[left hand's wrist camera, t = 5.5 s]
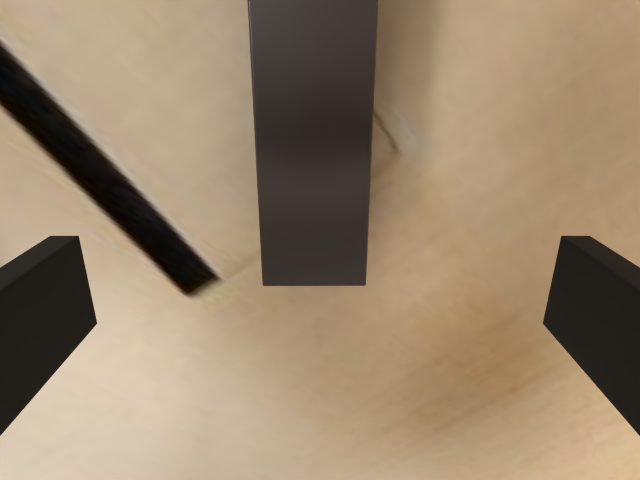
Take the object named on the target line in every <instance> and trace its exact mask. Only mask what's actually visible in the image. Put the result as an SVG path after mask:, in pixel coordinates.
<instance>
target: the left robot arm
mask: <svg viewBox="0 0 640 480" xmlns="http://www.w3.org/2000/svg"><path fill="white" fill-rule="evenodd" d="M96 324H97V321H96V316H95V311H94V307H93V302H92V297H91V292H90V288H89V283H88V278H87V273H86V269H85V264H84V259H83V255H82V250H81V245H80V240H79V236H50V237H48V238H46V239H45V240H43V241H42V242H40V243H38V244H37V245H35V246H34V247H32V248H31V249H29V250H27V251H26V252H24V253H23V254H21V255H20V256H18V257H16V258H15V259H13V260H12V261H10V262H9V263H7V264H5V265H4V266H2V267H1V268H0V435H1V434H2V433H3V432H4V431H5V430H6V429H7V427H8V426H9V425H10V424H11V423H12V422H13V420H14V419H15V418H16V417H17V416H18V415H19V413H20V412H21V411H22V410H23V409H24V408H25V406H26V405H27V404H28V403H29V402H30V401H31V400H32V398H33V397H34V396H35V395H36V394H37V393H38V391H39V390H40V389H41V388H42V387H43V386H44V384H45V383H46V382H47V381H48V380H49V379H50V377H51V376H52V375H53V374H54V373H55V372H56V371H57V369H58V368H59V367H60V366H61V365H62V364H63V362H64V361H65V360H66V359H67V358H68V357H69V355H70V354H71V353H72V352H73V351H74V350H75V348H76V347H77V346H78V345H79V344H80V343H81V342H82V340H83V339H84V338H85V337H86V336H87V335H88V333H89V332H90V331H91V330H92V329H93V328H94V326H95V325H96ZM543 324H544V325H545V326H546V328H547V329H548V330H549V331H550V332H551V333H552V335H553V336H554V337H555V338H556V339H557V340H558V342H559V343H560V344H561V345H562V346H563V347H564V348H565V350H566V351H567V352H568V353H569V354H570V355H571V357H572V358H573V359H574V360H575V361H576V362H577V364H578V365H579V366H580V367H581V368H582V369H583V371H584V372H585V373H586V374H587V375H588V376H589V377H590V379H591V380H592V381H593V382H594V383H595V384H596V386H597V387H598V388H599V389H600V390H601V391H602V393H603V394H604V395H605V396H606V397H607V398H608V400H609V401H610V402H611V403H612V404H613V405H614V406H615V408H616V409H617V410H618V411H619V412H620V413H621V415H622V416H623V417H624V418H625V419H626V420H627V422H628V423H629V424H630V425H631V426H632V427H633V429H634V430H635V431H636V432H637V433H638V434H639V435H640V268H639V267H638V266H636V265H635V264H633V263H631V262H630V261H628V260H627V259H625V258H624V257H622V256H620V255H619V254H617V253H616V252H614V251H613V250H611V249H609V248H608V247H606V246H605V245H603V244H602V243H600V242H598V241H597V240H595V239H594V238H592V237H590V236H561V240H560V245H559V250H558V255H557V259H556V264H555V269H554V273H553V278H552V283H551V288H550V292H549V297H548V302H547V307H546V311H545V316H544V321H543Z"/></svg>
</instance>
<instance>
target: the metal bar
mask: <svg viewBox="0 0 640 480" xmlns="http://www.w3.org/2000/svg"><path fill="white" fill-rule="evenodd" d="M377 14H378V0H248V15H249V34H250V53H251V72H252V91H253V110H254V129H255V149H256V168H257V187H258V206H259V225H260V244H261V263H262V282H263V286H365V285H366V270H367V246H368V223H369V200H370V177H371V153H372V130H373V107H374V83H375V60H376V37H377Z"/></svg>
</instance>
